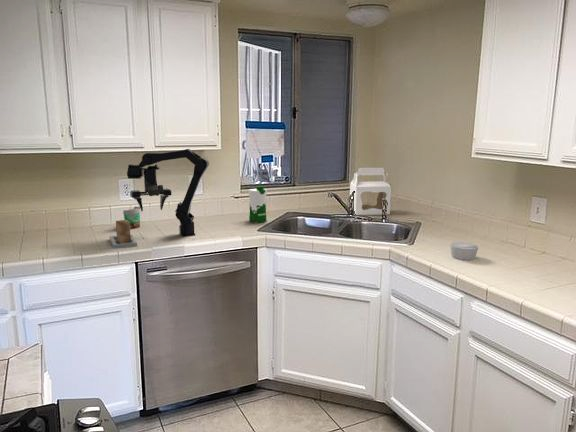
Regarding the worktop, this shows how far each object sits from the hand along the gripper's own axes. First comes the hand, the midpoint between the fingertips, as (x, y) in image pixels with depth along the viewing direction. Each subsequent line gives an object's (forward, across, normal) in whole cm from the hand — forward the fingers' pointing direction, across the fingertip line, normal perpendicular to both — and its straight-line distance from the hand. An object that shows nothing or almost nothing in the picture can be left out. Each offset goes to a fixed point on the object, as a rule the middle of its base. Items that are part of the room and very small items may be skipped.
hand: (151, 210), depth 239 cm
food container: (+12, -5, +20) cm, 24 cm away
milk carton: (+12, +60, +8) cm, 62 cm away
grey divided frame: (+12, -16, -11) cm, 23 cm away
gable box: (+12, +133, +1) cm, 133 cm away
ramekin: (+12, +107, -98) cm, 146 cm away
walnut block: (+12, -16, -15) cm, 25 cm away
